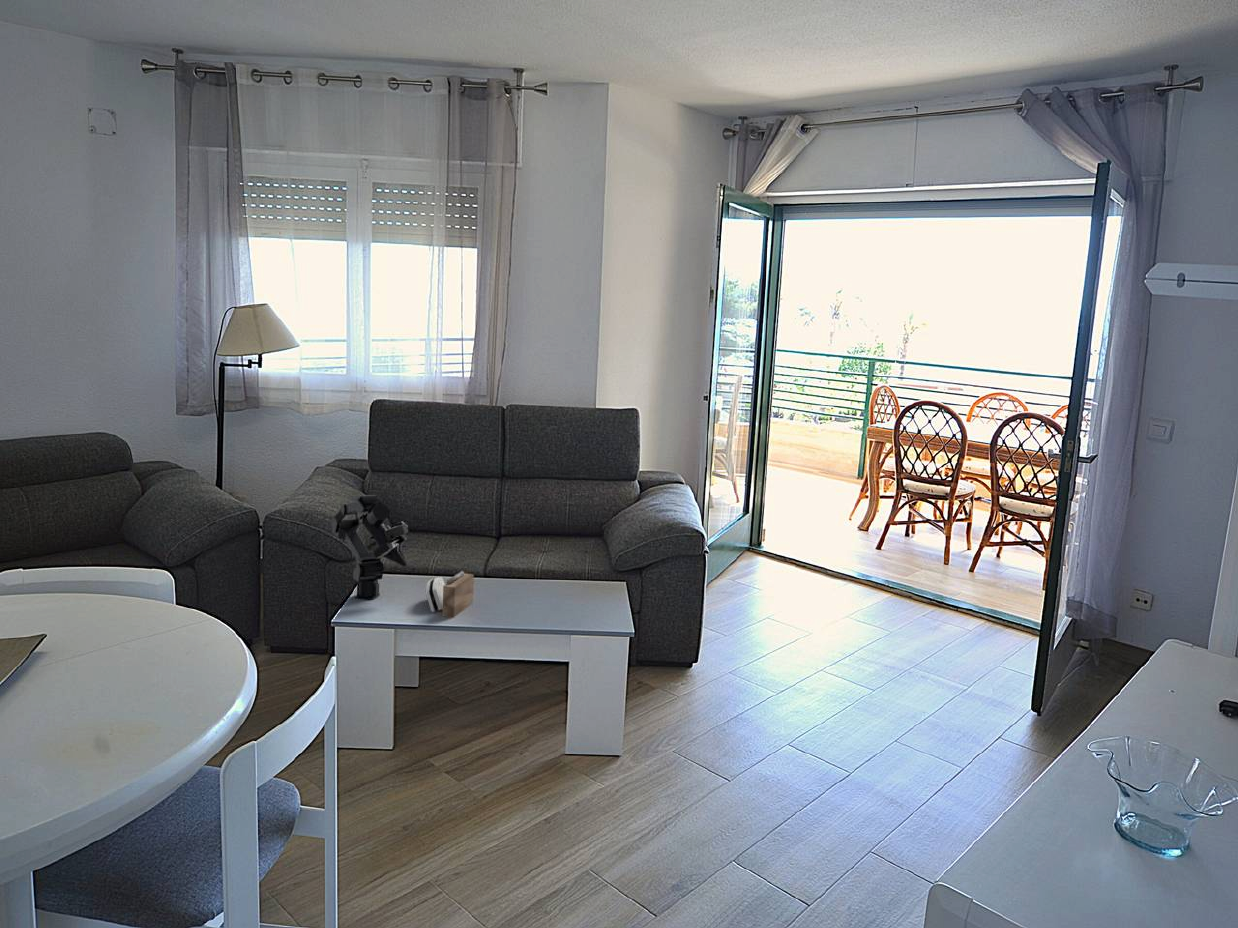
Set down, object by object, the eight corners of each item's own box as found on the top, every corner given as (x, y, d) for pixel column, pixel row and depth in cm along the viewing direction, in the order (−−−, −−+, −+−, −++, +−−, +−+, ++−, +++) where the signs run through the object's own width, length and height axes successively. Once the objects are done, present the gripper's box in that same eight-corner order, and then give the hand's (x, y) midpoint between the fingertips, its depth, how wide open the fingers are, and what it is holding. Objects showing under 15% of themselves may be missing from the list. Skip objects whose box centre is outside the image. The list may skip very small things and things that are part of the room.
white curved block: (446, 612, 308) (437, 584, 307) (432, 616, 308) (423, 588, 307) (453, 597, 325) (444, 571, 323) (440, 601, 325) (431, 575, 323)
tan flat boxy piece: (441, 615, 305) (442, 581, 303) (460, 601, 321) (461, 569, 320) (453, 617, 304) (455, 583, 302) (472, 602, 320) (473, 570, 319)
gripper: (384, 519, 304) (414, 556, 305) (404, 510, 323) (432, 545, 323) (359, 539, 306) (389, 577, 306) (380, 529, 324) (408, 564, 325)
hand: (405, 565), depth 315 cm, fingers closed
